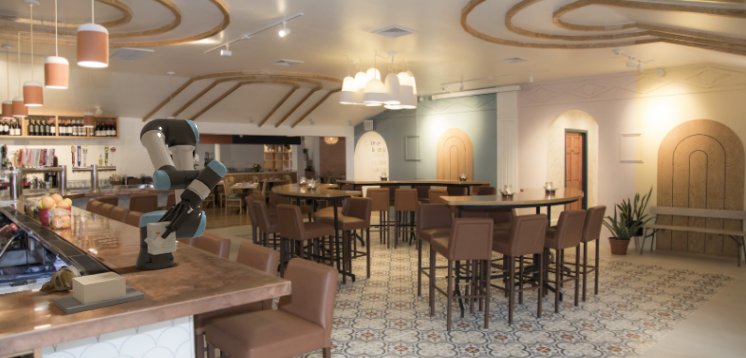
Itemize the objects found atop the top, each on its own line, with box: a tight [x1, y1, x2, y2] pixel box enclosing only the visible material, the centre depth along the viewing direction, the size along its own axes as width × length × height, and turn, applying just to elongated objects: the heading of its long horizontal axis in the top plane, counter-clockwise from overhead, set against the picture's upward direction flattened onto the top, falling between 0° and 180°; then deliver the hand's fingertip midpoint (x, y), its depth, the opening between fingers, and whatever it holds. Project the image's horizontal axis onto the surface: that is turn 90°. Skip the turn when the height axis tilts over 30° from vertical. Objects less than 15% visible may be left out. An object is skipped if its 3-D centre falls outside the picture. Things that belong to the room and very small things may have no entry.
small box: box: [147, 221, 177, 255], centre depth 169 cm, size 8×6×10 cm
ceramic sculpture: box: [38, 264, 82, 293], centre depth 168 cm, size 11×9×15 cm
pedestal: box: [52, 271, 145, 315], centre depth 154 cm, size 16×22×8 cm
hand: (151, 244), depth 167 cm, fingers closed on small box, 6 cm apart
